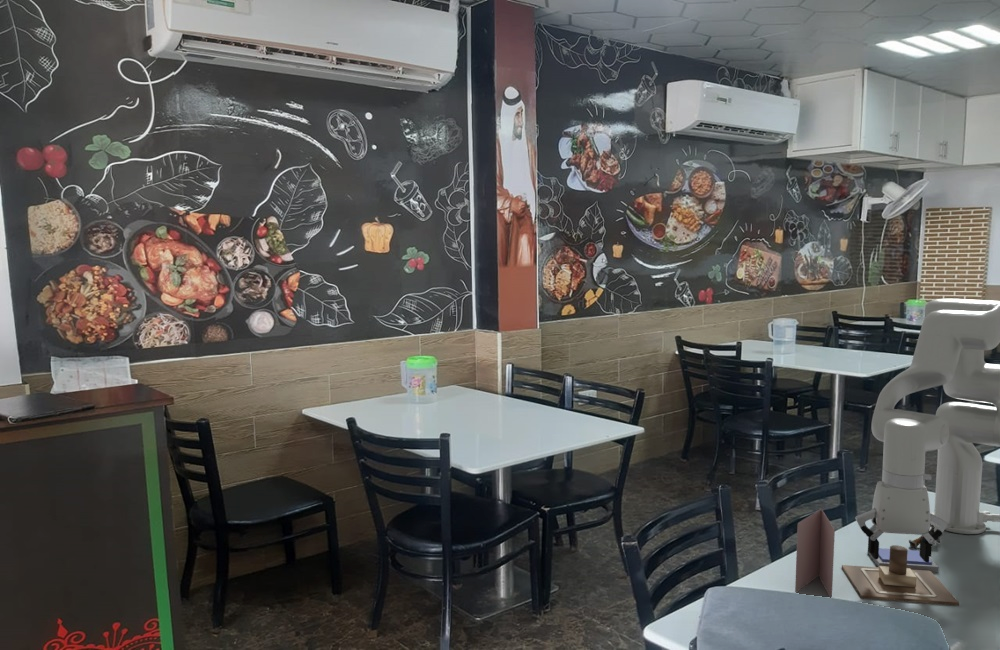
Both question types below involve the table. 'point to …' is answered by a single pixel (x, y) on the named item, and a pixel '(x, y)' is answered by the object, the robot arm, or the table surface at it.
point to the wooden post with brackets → (917, 541)
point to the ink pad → (912, 560)
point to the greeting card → (815, 551)
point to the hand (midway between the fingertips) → (898, 557)
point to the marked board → (874, 588)
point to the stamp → (897, 569)
